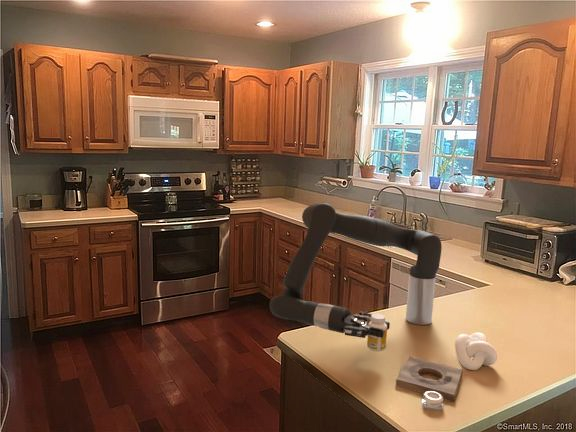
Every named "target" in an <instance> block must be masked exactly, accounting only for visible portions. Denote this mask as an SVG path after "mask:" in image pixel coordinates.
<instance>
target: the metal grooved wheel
mask: <svg viewBox="0 0 576 432" xmlns="http://www.w3.org/2000/svg"><path fill="white" fill-rule="evenodd" d="M444 401H445V399H444V398H443V396H442V395H441V394H439V393H438V392H435V391H426V392H425V393H424V394H423V393H422V401H421V405H422V407H423V409H424V410H427V411H429V412H435V413H437V412H441V411H443V408H444Z"/></svg>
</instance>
